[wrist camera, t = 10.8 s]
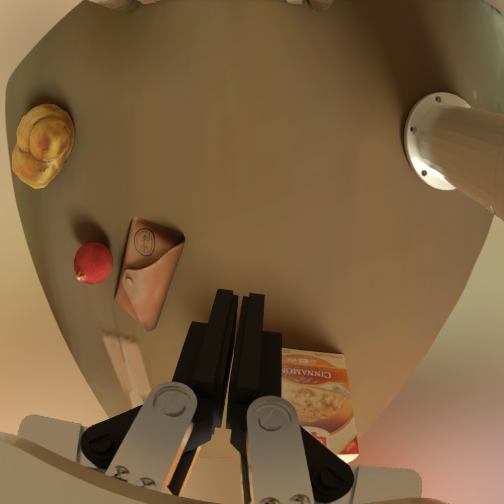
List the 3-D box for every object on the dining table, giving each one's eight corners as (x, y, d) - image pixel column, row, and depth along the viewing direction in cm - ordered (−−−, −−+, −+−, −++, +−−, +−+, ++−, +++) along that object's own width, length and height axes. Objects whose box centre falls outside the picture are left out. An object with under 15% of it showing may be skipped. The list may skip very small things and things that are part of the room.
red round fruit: (121, 270, 41) (97, 303, 34) (90, 261, 41) (64, 290, 34) (122, 237, 38) (94, 267, 31) (89, 228, 38) (59, 255, 31)
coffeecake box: (344, 353, 46) (361, 454, 30) (330, 377, 50) (340, 470, 33) (259, 342, 46) (250, 451, 29) (252, 368, 50) (242, 466, 33)
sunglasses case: (130, 211, 36) (134, 241, 32) (178, 218, 40) (189, 246, 36) (113, 303, 45) (118, 335, 40) (151, 304, 49) (159, 335, 44)
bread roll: (56, 195, 36) (22, 216, 29) (21, 158, 33) (-13, 174, 26) (93, 127, 31) (55, 138, 24) (54, 89, 28) (15, 94, 21)
